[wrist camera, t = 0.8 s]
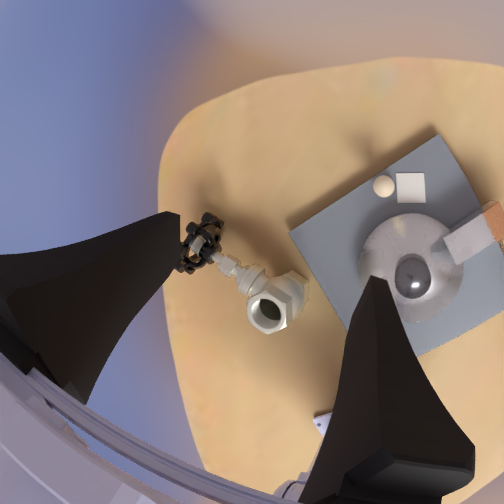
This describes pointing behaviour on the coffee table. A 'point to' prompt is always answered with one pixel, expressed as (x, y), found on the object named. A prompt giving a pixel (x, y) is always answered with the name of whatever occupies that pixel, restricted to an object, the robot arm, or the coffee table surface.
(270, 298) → the valve
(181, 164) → the coffee table surface
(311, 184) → the coffee table surface
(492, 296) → the board
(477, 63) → the coffee table surface
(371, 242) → the silver lidded pan
